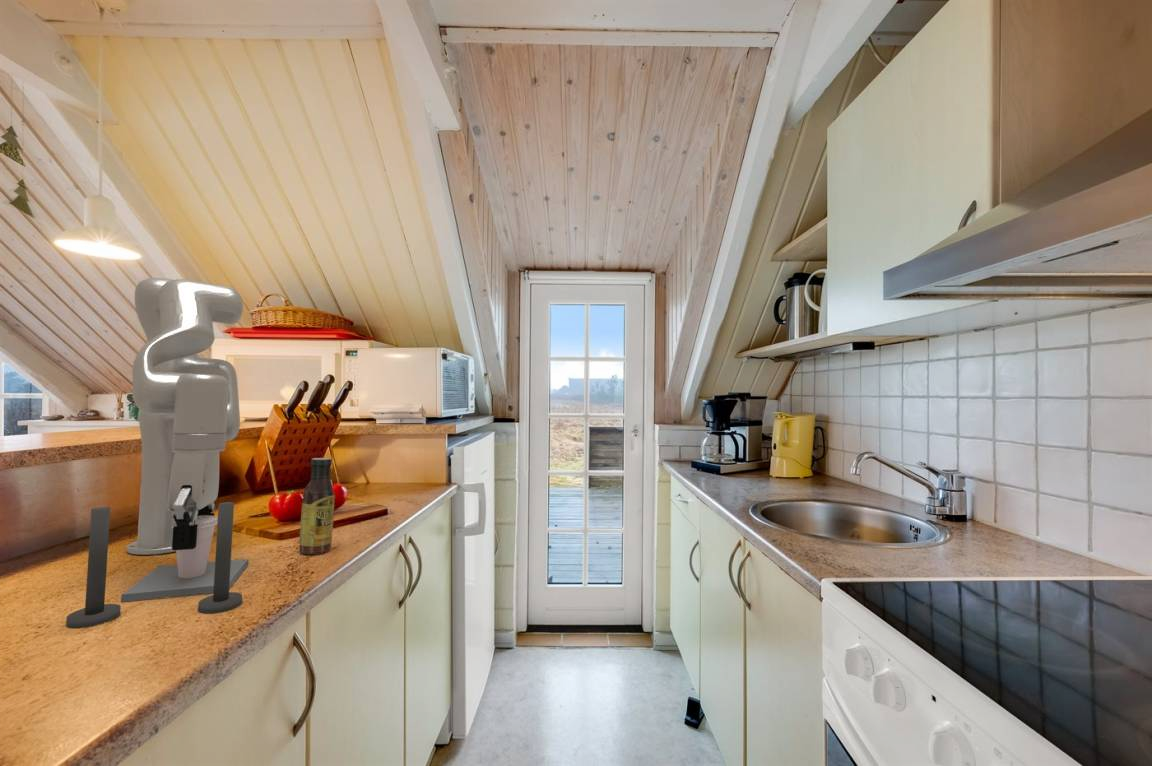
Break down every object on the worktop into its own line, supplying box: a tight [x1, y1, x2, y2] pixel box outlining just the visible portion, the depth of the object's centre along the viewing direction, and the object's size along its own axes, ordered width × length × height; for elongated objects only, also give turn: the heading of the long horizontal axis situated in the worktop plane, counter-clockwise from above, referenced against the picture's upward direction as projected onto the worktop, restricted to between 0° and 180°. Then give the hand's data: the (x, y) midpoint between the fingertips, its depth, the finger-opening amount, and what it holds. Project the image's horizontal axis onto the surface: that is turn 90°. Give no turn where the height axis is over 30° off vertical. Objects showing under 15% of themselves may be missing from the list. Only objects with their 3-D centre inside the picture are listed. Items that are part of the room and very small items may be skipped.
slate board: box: [120, 558, 250, 603], centre depth 86 cm, size 14×14×1 cm
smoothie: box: [172, 515, 218, 578], centre depth 86 cm, size 6×6×14 cm
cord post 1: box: [65, 506, 121, 629], centre depth 71 cm, size 6×6×16 cm
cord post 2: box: [197, 501, 243, 614], centre depth 77 cm, size 6×6×16 cm
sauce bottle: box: [298, 457, 336, 555], centre depth 105 cm, size 6×6×20 cm
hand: (193, 541), depth 86 cm, fingers open, 8 cm apart
